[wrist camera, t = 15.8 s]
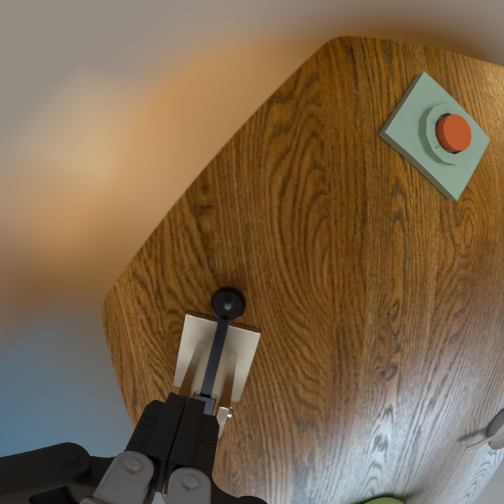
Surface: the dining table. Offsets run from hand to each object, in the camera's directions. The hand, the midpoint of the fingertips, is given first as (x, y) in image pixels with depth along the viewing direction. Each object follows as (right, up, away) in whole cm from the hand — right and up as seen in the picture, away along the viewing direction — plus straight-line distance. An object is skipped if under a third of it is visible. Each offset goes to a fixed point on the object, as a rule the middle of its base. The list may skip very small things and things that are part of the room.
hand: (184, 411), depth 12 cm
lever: (-1, -4, +21) cm, 21 cm away
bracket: (-2, -7, +27) cm, 28 cm away
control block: (+25, +20, +20) cm, 38 cm away
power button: (+24, +19, +17) cm, 35 cm away
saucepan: (+50, -28, +31) cm, 65 cm away
